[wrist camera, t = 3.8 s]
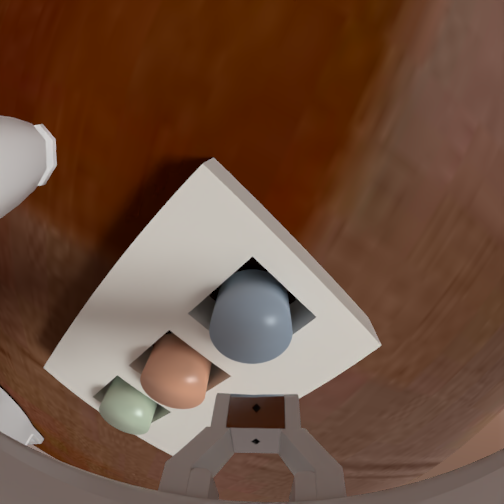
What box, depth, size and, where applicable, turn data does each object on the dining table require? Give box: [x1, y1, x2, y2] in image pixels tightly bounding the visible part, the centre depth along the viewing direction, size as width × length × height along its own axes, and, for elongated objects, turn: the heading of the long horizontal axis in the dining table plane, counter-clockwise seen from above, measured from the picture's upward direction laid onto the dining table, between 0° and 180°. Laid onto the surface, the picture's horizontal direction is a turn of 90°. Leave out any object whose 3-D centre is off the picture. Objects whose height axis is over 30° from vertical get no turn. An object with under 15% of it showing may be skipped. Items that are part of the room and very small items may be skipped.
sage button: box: [99, 375, 158, 435], centre depth 19 cm, size 4×4×3 cm
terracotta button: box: [140, 333, 212, 409], centre depth 17 cm, size 4×4×3 cm
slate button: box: [209, 269, 293, 364], centre depth 16 cm, size 4×4×3 cm
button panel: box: [44, 157, 381, 456], centre depth 19 cm, size 21×14×3 cm
